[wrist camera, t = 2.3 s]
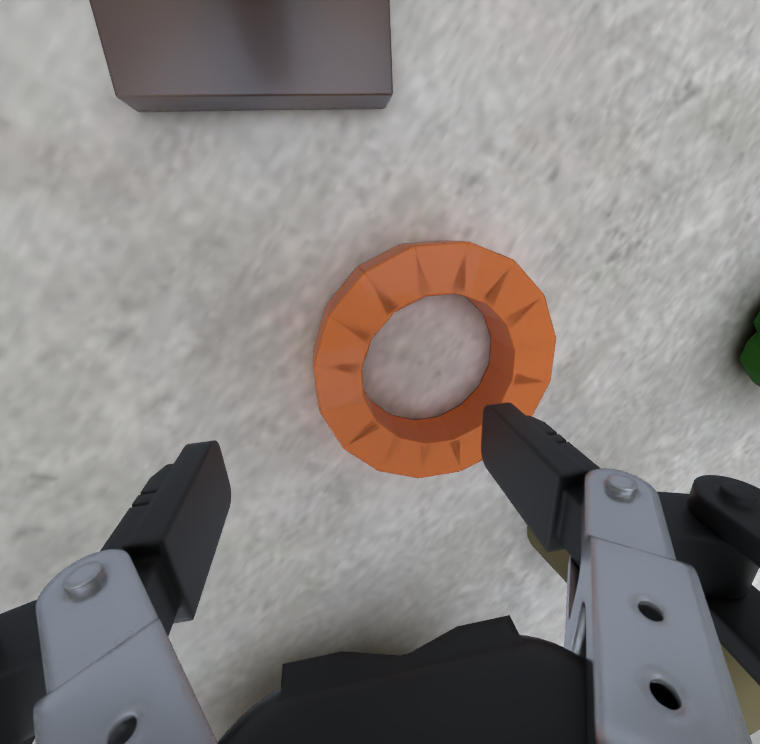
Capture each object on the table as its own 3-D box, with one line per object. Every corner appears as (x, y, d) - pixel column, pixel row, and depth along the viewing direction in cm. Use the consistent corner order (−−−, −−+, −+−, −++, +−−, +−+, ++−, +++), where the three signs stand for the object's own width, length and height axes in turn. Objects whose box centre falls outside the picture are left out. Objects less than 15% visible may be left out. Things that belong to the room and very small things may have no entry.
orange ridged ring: (328, 463, 19) (330, 493, 17) (299, 250, 15) (297, 253, 13) (516, 434, 21) (540, 458, 18) (536, 234, 17) (570, 234, 14)
